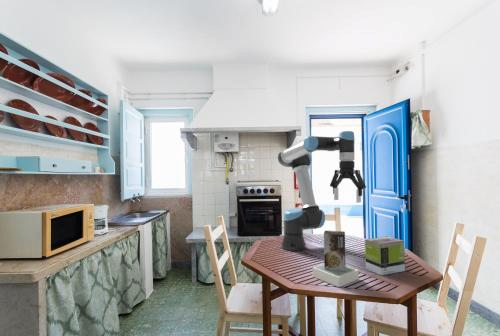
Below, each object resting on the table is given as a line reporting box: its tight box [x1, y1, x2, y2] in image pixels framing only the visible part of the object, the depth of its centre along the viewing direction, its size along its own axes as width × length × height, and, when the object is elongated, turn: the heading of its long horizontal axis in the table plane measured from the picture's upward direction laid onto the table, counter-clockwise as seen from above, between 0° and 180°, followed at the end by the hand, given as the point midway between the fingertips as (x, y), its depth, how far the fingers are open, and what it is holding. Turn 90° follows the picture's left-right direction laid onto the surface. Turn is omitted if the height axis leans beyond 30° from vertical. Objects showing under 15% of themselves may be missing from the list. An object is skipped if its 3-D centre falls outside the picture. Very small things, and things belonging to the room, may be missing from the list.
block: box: [312, 263, 360, 288], centre depth 123 cm, size 14×14×4 cm
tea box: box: [364, 236, 406, 276], centre depth 132 cm, size 15×10×15 cm
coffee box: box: [323, 230, 347, 271], centre depth 123 cm, size 9×6×16 cm
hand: (347, 201), depth 144 cm, fingers open, 13 cm apart
